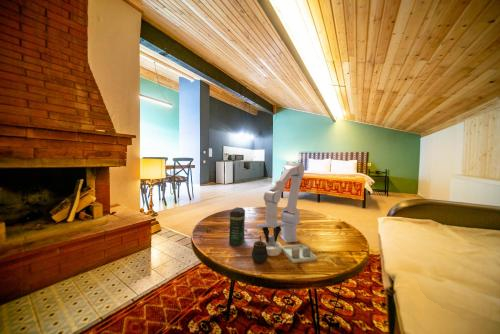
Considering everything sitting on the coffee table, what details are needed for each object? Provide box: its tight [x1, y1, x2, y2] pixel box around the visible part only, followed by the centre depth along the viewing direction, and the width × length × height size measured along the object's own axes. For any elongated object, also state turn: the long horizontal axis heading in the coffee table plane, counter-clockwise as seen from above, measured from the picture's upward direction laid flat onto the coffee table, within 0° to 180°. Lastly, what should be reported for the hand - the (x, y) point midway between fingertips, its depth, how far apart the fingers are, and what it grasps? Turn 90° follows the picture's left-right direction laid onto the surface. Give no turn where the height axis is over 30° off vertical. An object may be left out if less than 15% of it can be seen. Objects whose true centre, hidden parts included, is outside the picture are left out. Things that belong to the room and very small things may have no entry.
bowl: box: [263, 240, 283, 257], centre depth 94 cm, size 10×10×3 cm
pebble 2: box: [302, 245, 312, 258], centre depth 88 cm, size 4×4×4 cm
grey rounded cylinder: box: [268, 234, 275, 246], centre depth 93 cm, size 4×4×4 cm
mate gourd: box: [251, 235, 269, 264], centre depth 84 cm, size 7×8×10 cm
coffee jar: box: [228, 207, 246, 246], centre depth 102 cm, size 10×8×19 cm
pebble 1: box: [292, 247, 300, 259], centre depth 86 cm, size 4×4×4 cm
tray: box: [282, 243, 318, 264], centre depth 90 cm, size 13×12×2 cm
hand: (270, 241), depth 94 cm, fingers closed on grey rounded cylinder, 4 cm apart
